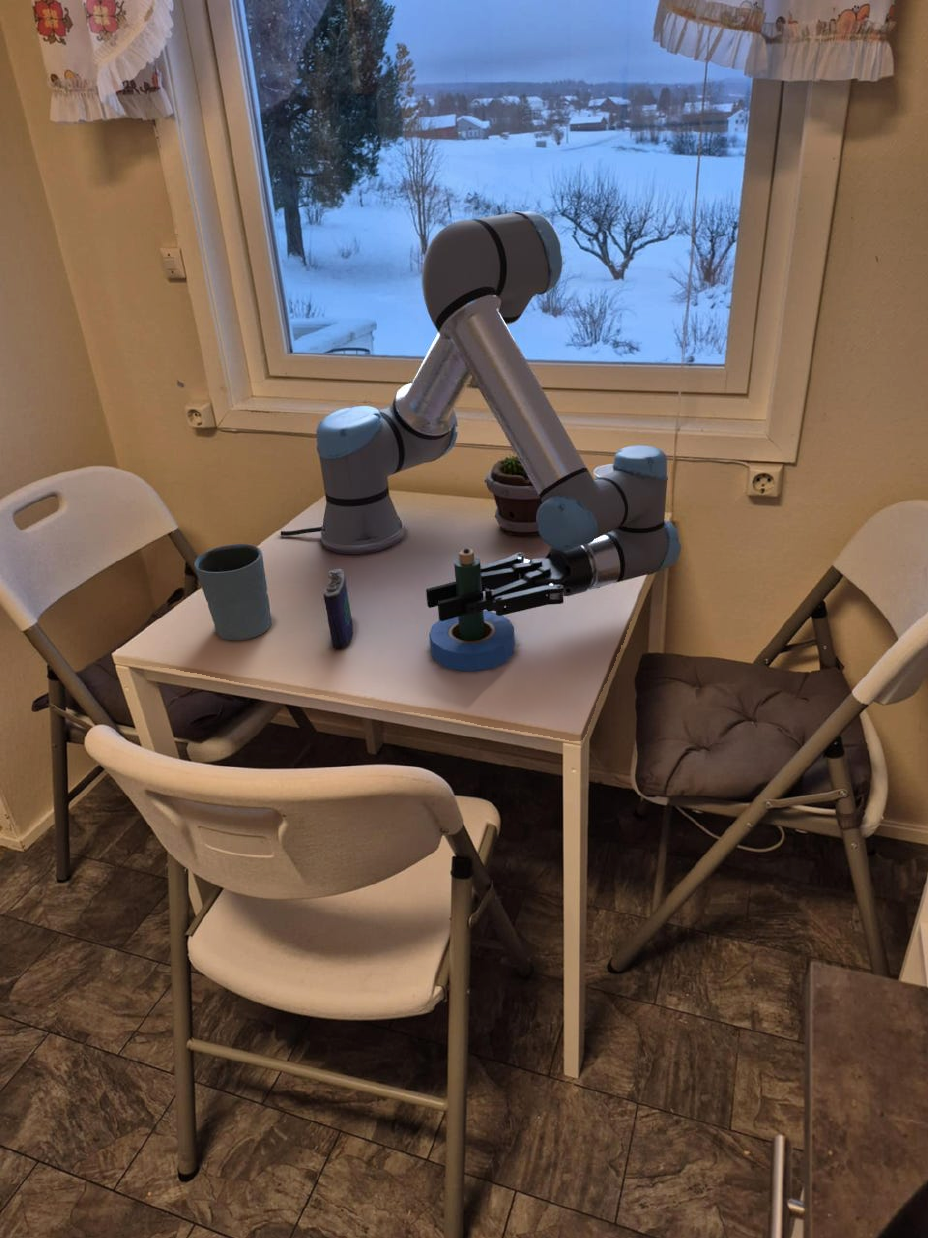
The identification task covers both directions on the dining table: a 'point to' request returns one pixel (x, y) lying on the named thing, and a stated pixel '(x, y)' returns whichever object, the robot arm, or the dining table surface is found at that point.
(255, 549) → the blue cup
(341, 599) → the flask
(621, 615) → the dining table surface
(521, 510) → the flowerpot
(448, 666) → the tape roll
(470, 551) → the green cylinder
